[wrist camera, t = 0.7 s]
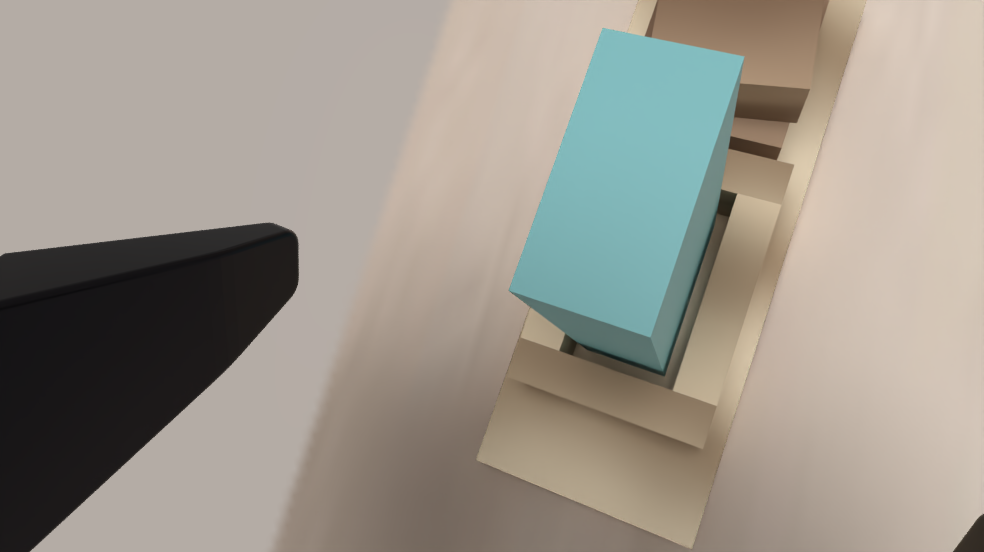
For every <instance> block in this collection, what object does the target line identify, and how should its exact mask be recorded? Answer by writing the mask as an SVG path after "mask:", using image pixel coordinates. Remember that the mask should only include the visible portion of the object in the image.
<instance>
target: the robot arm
mask: <svg viewBox="0 0 984 552" xmlns="http://www.w3.org/2000/svg"><path fill="white" fill-rule="evenodd" d="M298 263H299V259H298V238H297V236H296V234H295V233H294V232H293V231H292V230H289V229H287V228H284V227H282V226H279V225H277V224H274V223H260V224H252V225H243V226H236V227H227V228H218V229H209V230H201V231H192V232H184V233H175V234H167V235H159V236H150V237H142V238H133V239H125V240H117V241H107V242H99V243H91V244H82V245H73V246H65V247H57V248H48V249H39V250H31V251H22V252H14V253H5V254H3V255H2V256H0V552H30V551H31V550H32V549H33V548H34V547H35V546H36V545H38V544H39V543H40V542H41V541H42V540H43V539H44V538H45V537H46V536H47V535H48V534H49V533H51V532H52V530H54V529H55V528H56V527H57V526H58V525H59V524H60V523H61V522H62V521H64V520H65V519H66V517H68V516H69V515H70V514H71V513H72V512H73V511H74V510H75V509H77V508H78V507H79V506H80V505H81V504H82V503H83V502H84V501H85V500H86V499H87V498H88V497H89V496H91V495H92V494H93V493H94V492H95V491H96V490H97V489H98V488H99V487H100V486H101V485H102V484H104V483H105V482H106V481H107V480H108V479H109V478H110V477H111V476H112V475H113V474H114V473H116V472H117V471H118V469H120V468H121V467H122V466H123V465H124V464H125V463H126V462H127V461H129V460H130V459H131V458H132V457H133V456H134V455H135V454H136V453H137V452H138V451H139V450H140V449H142V448H143V447H144V446H145V445H146V444H147V443H148V442H149V441H150V440H151V439H152V438H153V437H155V436H156V435H157V434H158V433H159V432H160V431H161V430H162V429H163V428H164V427H165V426H166V425H168V423H170V422H171V421H172V420H173V419H174V418H175V417H176V416H177V415H178V414H179V413H181V411H183V410H184V409H185V408H186V407H187V406H188V405H189V404H190V403H191V402H192V401H193V400H195V399H196V398H197V397H198V396H199V395H200V394H201V393H202V392H203V391H204V390H205V389H207V388H208V387H209V386H210V385H211V384H212V383H213V382H214V381H215V380H216V379H217V378H218V377H219V376H220V375H221V374H223V373H224V372H225V371H226V369H227V368H229V366H231V365H232V363H233V362H234V361H235V360H236V359H237V358H238V357H239V356H240V355H241V354H242V353H243V351H244V350H245V349H246V348H247V347H248V345H250V344H251V342H252V341H253V340H254V339H255V338H256V337H257V336H258V334H259V333H260V332H261V331H262V330H263V329H264V328H265V327H266V325H267V324H268V323H269V322H270V321H271V320H272V318H273V317H274V316H275V315H276V314H277V313H278V312H279V311H280V310H281V308H282V307H283V306H284V305H285V304H286V302H287V301H288V300H289V299H290V298H291V297H292V296H293V294H294V292H295V291H296V288H297V285H298V280H299V279H298V278H299V266H298V265H299V264H298ZM953 552H984V514H983V515H981V516H980V517H979V518H978V519H977V520H976V522H975V523H974V524H973V526H972V527H971V528H970V530H969V531H968V532H967V534H966V535H965V536H964V538H963V539H962V540H961V542H960V543H959V544H958V546H957V547H956V548H955V550H954V551H953Z"/></svg>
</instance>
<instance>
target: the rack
mask: <svg viewBox="0 0 984 552" xmlns="http://www.w3.org/2000/svg"><path fill="white" fill-rule="evenodd" d="M866 1H867V0H829V3H828V6H827V9H826V13H825V16H824V19H823V22H822V25H821V28H820V31H819V37H818V43H817V50H816V56H815V62H814V69H813V75H812V81H811V88H810V91H809V94H808V96H807V99H806V101H805V104H804V106H803V109H802V111H801V114H800V117H799V119H798V122H797V123H790V124H789V127H788V130H787V133H786V136H785V139H784V142H783V145H782V148H781V151H780V154H779V156H778V159H777V160H773V159H769V158H765V157H761V156H756V155H752V154H748V153H744V152H740V151H736V150H731V149H728V153H727V159H726V164H725V170H724V176H723V181H722V187H721V192H720V198H719V204H718V209H717V215H716V221H715V226H714V229H713V232H712V235H711V238H710V241H709V244H708V247H707V250H706V253H705V256H704V259H703V262H702V265H701V268H700V271H699V274H698V277H697V280H696V284H695V287H694V290H693V293H692V296H691V299H690V302H689V305H688V308H687V311H686V314H685V317H684V320H683V323H682V326H681V329H680V332H679V335H678V338H677V341H676V344H675V347H674V350H673V353H672V356H671V359H670V362H669V365H668V368H667V371H666V374H665V377H664V376H661V375H658V374H655V373H652V372H649V371H646V370H644V369H641V368H638V367H635V366H632V365H629V364H626V363H623V362H620V361H618V360H615V359H612V358H609V357H606V356H603V355H600V354H597V353H594V352H591V351H589V350H587V349H585V348H584V347H583V346H581V345H580V344H579V343H577V342H576V341H575V340H573V339H572V338H571V337H569V336H568V335H567V334H565V333H564V332H563V331H562V330H560V329H559V328H558V327H556V326H555V325H554V324H552V323H551V322H550V321H548V320H547V319H546V318H544V317H543V316H542V315H540V314H539V313H538V312H536V311H535V310H534V309H532V308H531V307H530V308H529V311H528V314H527V317H526V319H525V322H524V325H523V328H522V331H521V334H520V336H519V339H518V342H517V345H516V348H515V351H514V353H513V356H512V359H511V362H510V365H509V367H508V370H507V373H506V376H505V379H504V382H503V384H502V387H501V390H500V393H499V396H498V399H497V401H496V404H495V407H494V410H493V413H492V416H491V418H490V421H489V424H488V427H487V430H486V432H485V435H484V438H483V441H482V444H481V447H480V449H479V452H478V455H477V458H476V460H477V461H479V462H482V463H484V464H487V465H489V466H491V467H494V468H496V469H499V470H501V471H503V472H506V473H508V474H511V475H513V476H515V477H518V478H520V479H523V480H525V481H528V482H530V483H532V484H535V485H537V486H540V487H542V488H544V489H547V490H549V491H552V492H554V493H556V494H559V495H561V496H564V497H566V498H569V499H571V500H573V501H576V502H578V503H581V504H583V505H585V506H588V507H590V508H593V509H595V510H598V511H600V512H602V513H605V514H607V515H610V516H612V517H614V518H617V519H619V520H622V521H624V522H626V523H629V524H631V525H634V526H636V527H639V528H641V529H643V530H646V531H648V532H651V533H653V534H655V535H658V536H660V537H663V538H665V539H668V540H670V541H672V542H675V543H677V544H680V545H682V546H684V547H687V548H689V549H692V547H693V544H694V541H695V538H696V535H697V532H698V529H699V526H700V522H701V519H702V516H703V513H704V510H705V507H706V504H707V500H708V497H709V494H710V491H711V488H712V485H713V482H714V478H715V475H716V472H717V469H718V466H719V463H720V460H721V456H722V453H723V450H724V447H725V444H726V441H727V438H728V434H729V431H730V428H731V425H732V422H733V419H734V416H735V412H736V409H737V406H738V403H739V400H740V397H741V394H742V390H743V387H744V384H745V381H746V378H747V375H748V372H749V369H750V365H751V362H752V359H753V356H754V353H755V350H756V347H757V343H758V340H759V337H760V334H761V331H762V328H763V325H764V321H765V318H766V315H767V312H768V309H769V306H770V303H771V299H772V296H773V293H774V290H775V287H776V284H777V281H778V277H779V274H780V271H781V268H782V265H783V262H784V259H785V255H786V252H787V249H788V246H789V243H790V240H791V237H792V233H793V230H794V227H795V224H796V221H797V218H798V215H799V212H800V208H801V205H802V202H803V199H804V196H805V193H806V190H807V186H808V183H809V180H810V177H811V174H812V171H813V168H814V164H815V161H816V158H817V155H818V152H819V149H820V146H821V142H822V139H823V136H824V133H825V130H826V127H827V124H828V120H829V117H830V114H831V111H832V108H833V105H834V102H835V98H836V95H837V92H838V89H839V86H840V83H841V80H842V76H843V73H844V70H845V67H846V64H847V61H848V58H849V54H850V51H851V48H852V45H853V42H854V39H855V36H856V33H857V29H858V26H859V23H860V20H861V17H862V14H863V11H864V7H865V4H866ZM656 2H657V0H638V3H637V6H636V9H635V12H634V14H633V17H632V20H631V23H630V26H629V29H628V31H627V33H630V34H635V35H640V36H645V34H646V31H647V28H648V25H649V22H650V19H651V17H652V14H653V11H654V8H655V5H656Z"/></svg>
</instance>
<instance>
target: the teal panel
mask: <svg viewBox="0 0 984 552" xmlns="http://www.w3.org/2000/svg"><path fill="white" fill-rule="evenodd" d="M744 57H745V56H740V55H735V54H730V53H725V52H720V51H715V50H710V49H705V48H700V47H695V46H690V45H685V44H680V43H675V42H670V41H665V40H660V39H655V38H650V37H645V36H640V35H635V34H630V33H625V32H620V31H615V30H610V29H606V28H603V29H602V31H601V34H600V37H599V40H598V42H597V45H596V48H595V51H594V54H593V56H592V59H591V62H590V65H589V68H588V70H587V73H586V76H585V79H584V82H583V84H582V87H581V90H580V93H579V96H578V98H577V101H576V104H575V107H574V109H573V112H572V115H571V118H570V121H569V123H568V126H567V129H566V132H565V135H564V137H563V140H562V143H561V146H560V149H559V151H558V154H557V157H556V160H555V163H554V165H553V168H552V171H551V174H550V177H549V179H548V182H547V185H546V188H545V190H544V193H543V196H542V199H541V202H540V204H539V207H538V210H537V213H536V216H535V218H534V221H533V224H532V227H531V230H530V232H529V235H528V238H527V241H526V244H525V246H524V249H523V252H522V255H521V258H520V260H519V263H518V266H517V269H516V271H515V274H514V277H513V280H512V283H511V285H510V288H509V291H510V292H511V293H512V294H514V295H515V296H516V297H518V298H519V299H520V300H522V301H523V302H524V303H526V304H527V305H528V306H530V307H531V308H532V309H534V310H535V311H536V312H538V313H539V314H540V315H542V316H543V317H544V318H546V319H547V320H548V321H550V322H551V323H552V324H554V325H555V326H556V327H558V328H559V329H560V330H562V331H563V332H564V333H565V334H567V335H568V336H569V337H571V338H572V339H573V340H575V341H576V342H577V343H579V344H580V345H581V346H583V347H584V348H585V349H587V350H589V351H591V352H594V353H597V354H600V355H603V356H606V357H609V358H612V359H615V360H618V361H620V362H623V363H626V364H629V365H632V366H635V367H638V368H641V369H644V370H646V371H649V372H652V373H655V374H658V375H661V376H664V377H665V374H666V371H667V368H668V365H669V362H670V359H671V356H672V353H673V350H674V347H675V344H676V341H677V338H678V335H679V332H680V329H681V326H682V323H683V320H684V317H685V314H686V311H687V308H688V305H689V302H690V299H691V296H692V293H693V290H694V287H695V284H696V280H697V277H698V274H699V271H700V268H701V265H702V262H703V259H704V256H705V253H706V250H707V247H708V244H709V241H710V238H711V235H712V232H713V229H714V226H715V221H716V215H717V209H718V204H719V198H720V192H721V187H722V181H723V176H724V170H725V164H726V159H727V153H728V147H729V142H730V136H731V130H732V125H733V119H734V113H735V108H736V102H737V97H738V91H739V85H740V80H741V74H742V68H743V63H744Z"/></svg>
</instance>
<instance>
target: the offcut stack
mask: <svg viewBox="0 0 984 552" xmlns="http://www.w3.org/2000/svg"><path fill="white" fill-rule="evenodd" d="M828 3H829V0H657V2H656V5H655V8H654V11H653V14H652V17H651V19H650V22H649V25H648V28H647V31H646V34H645V37H650V38H655V39H660V40H665V41H670V42H675V43H680V44H685V45H690V46H695V47H700V48H705V49H710V50H715V51H720V52H725V53H730V54H735V55H740V56H745V57H744V63H743V68H742V74H741V80H740V85H739V91H738V97H737V102H736V108H735V113H734V119H733V125H732V130H731V136H730V142H729V147H728V149H731V150H736V151H740V152H744V153H748V154H752V155H756V156H761V157H765V158H769V159H773V160H777V159H778V156H779V154H780V151H781V148H782V145H783V142H784V139H785V136H786V133H787V130H788V127H789V124H790V123H797V122H798V119H799V117H800V114H801V111H802V109H803V106H804V104H805V101H806V99H807V96H808V94H809V91H810V88H811V81H812V75H813V69H814V62H815V56H816V50H817V43H818V37H819V31H820V28H821V25H822V22H823V19H824V16H825V13H826V9H827V6H828Z"/></svg>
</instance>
